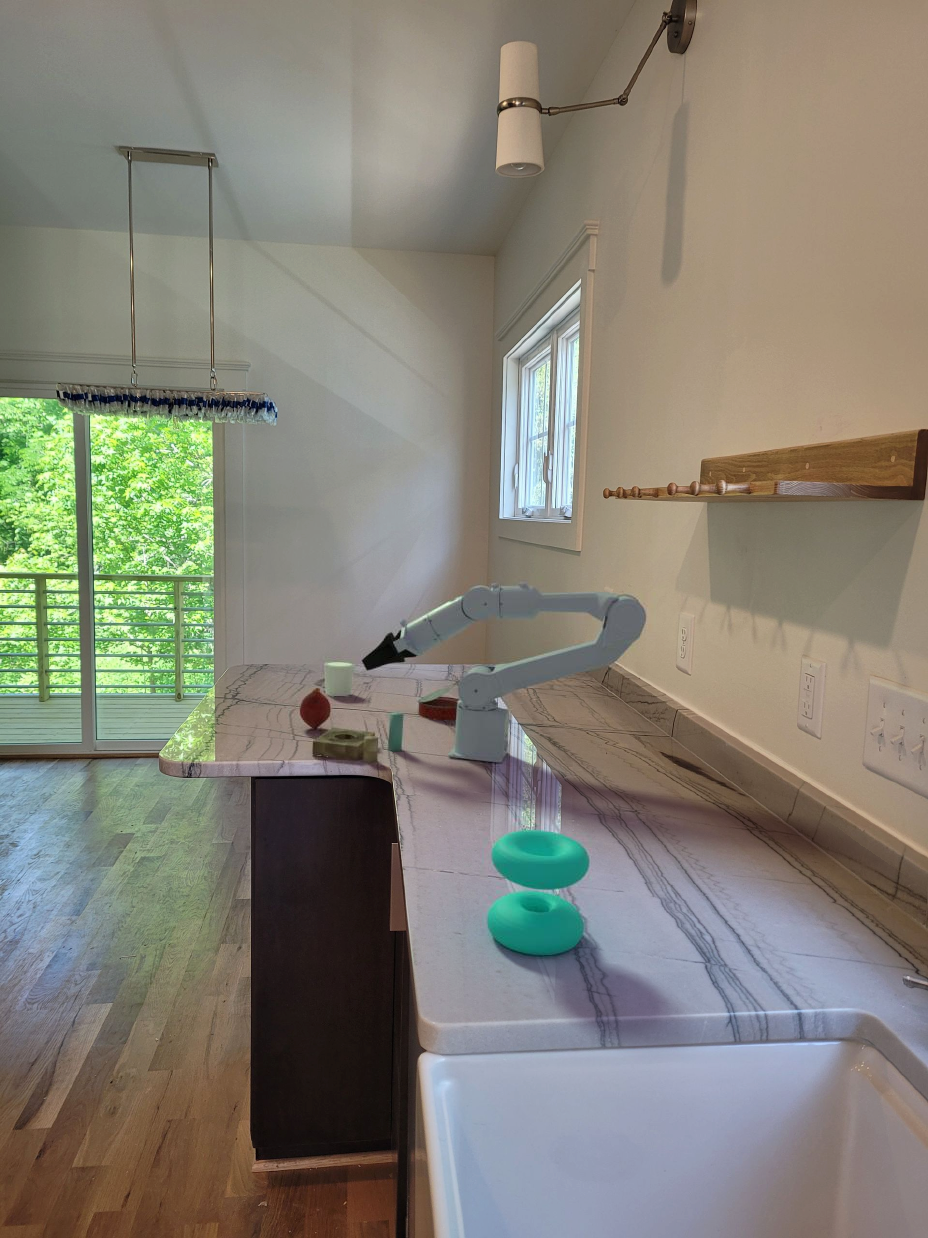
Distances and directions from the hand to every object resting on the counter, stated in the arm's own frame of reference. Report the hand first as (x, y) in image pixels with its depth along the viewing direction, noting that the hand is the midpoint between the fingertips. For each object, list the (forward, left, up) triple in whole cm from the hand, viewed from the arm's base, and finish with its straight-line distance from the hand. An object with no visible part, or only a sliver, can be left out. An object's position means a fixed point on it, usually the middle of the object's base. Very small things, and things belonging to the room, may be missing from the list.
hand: (370, 663), depth 157 cm
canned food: (-8, -28, -15) cm, 33 cm away
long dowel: (-6, +1, -15) cm, 16 cm away
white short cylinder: (+18, -37, -15) cm, 44 cm away
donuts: (-38, +63, -15) cm, 75 cm away
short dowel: (-4, +10, -15) cm, 18 cm away
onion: (+12, -6, -15) cm, 21 cm away
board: (+2, +6, -15) cm, 16 cm away
